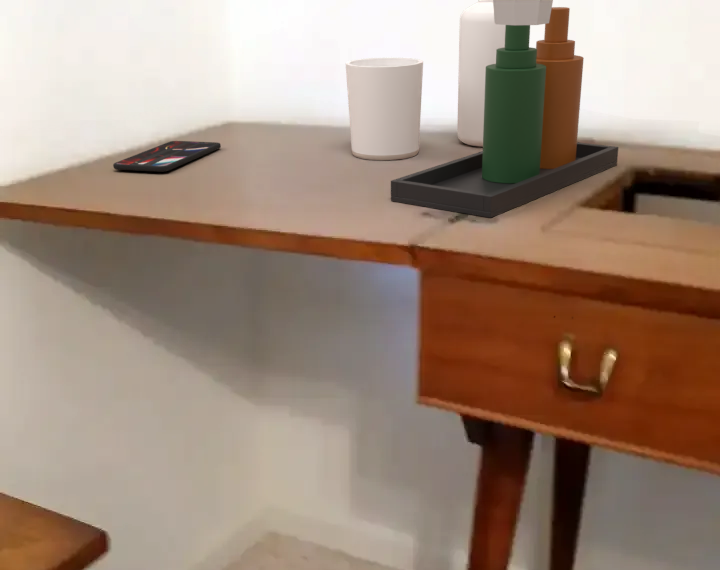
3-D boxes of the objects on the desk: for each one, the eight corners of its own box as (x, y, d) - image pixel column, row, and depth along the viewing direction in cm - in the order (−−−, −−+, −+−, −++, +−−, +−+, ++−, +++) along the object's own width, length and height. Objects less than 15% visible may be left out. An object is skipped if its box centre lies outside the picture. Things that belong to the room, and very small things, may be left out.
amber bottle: (584, 161, 108) (597, 6, 101) (558, 171, 104) (570, 11, 97) (537, 155, 112) (546, 5, 104) (510, 165, 108) (517, 9, 100)
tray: (616, 165, 109) (618, 146, 108) (490, 218, 90) (491, 196, 89) (525, 153, 115) (526, 136, 114) (390, 200, 97) (390, 180, 96)
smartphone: (222, 142, 122) (165, 167, 109) (223, 147, 122) (166, 173, 109) (171, 140, 124) (109, 164, 111) (172, 145, 124) (110, 170, 111)
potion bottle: (493, 151, 116) (499, -14, 108) (443, 142, 122) (445, -16, 114) (537, 141, 121) (547, -18, 113) (487, 133, 127) (493, -20, 118)
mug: (436, 155, 115) (438, 62, 111) (371, 164, 112) (369, 69, 107) (389, 140, 124) (388, 54, 119) (327, 148, 120) (324, 60, 115)
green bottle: (549, 175, 103) (560, 12, 95) (520, 186, 99) (529, 17, 91) (500, 168, 106) (507, 10, 99) (470, 179, 102) (475, 15, 95)
